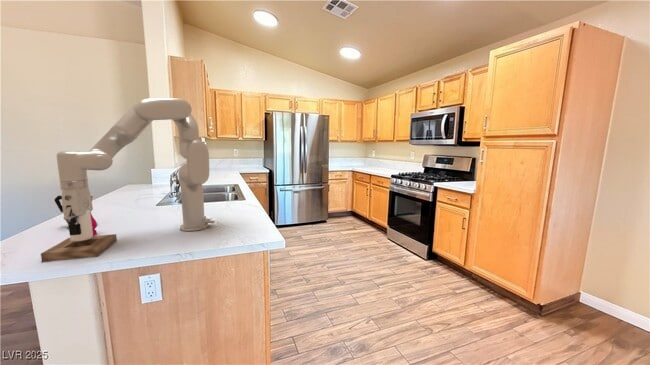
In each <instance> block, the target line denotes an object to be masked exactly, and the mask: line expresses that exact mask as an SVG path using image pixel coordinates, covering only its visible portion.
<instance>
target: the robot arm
mask: <svg viewBox="0 0 650 365" xmlns="http://www.w3.org/2000/svg"><path fill="white" fill-rule="evenodd" d="M192 110H193V109H192V106H191V103H189V102H188V101H187V100H186V99H184V98H178V97H176V98H151V97H150V98H143V99H141V100H138V101H137V102H135V103H134V104H133V105H132V106H131V107H130V108H129V109H128V110H127V111H126V112H125V113H124V115H123V116H121V118H120V119H119V120H117V121H116V122H115V123H114V125H112V127H111V128H110V129H109V130H108V131H107V132H106V133H105V134H104V135H103V136H102V137H101V138H100V140H98V141H97V142H96V143H95V144H94V145H93V146H92V147H91V148H90V149H89V150H88V151H81V150H79V151H78V150H75V151H74V150H64V151H63V150H62V151H59V152H57V153H56V163H57V170H58V177H59V184H60V185H59V186H60V190H61V196H62V199H61V205H62V208H63V212H62V214H63V220H64V221H65V222H66V224H67V226H68V225H69V229H68V231H69V236H70V235H80V234H81V227H80V224H78V223H79V216H83V215H85V214H86V211H87V210H90V212H91V213H92V211H93V210H94V208H93V199H92V200H91V196H92V195H91V191H90V188H89V187H90V186H89V181H88V173H87V171H106V170H107V169H109V168H111V167H112V165H113V163H114V162H113V160H114V159H113V158H114V157H115V156H116V155H117V154H118V153H119V152H120V151H121V150H122V149H123V148H125V147H126V146H128V145H129V144H131V143H133V142H134V141H136V140H137V138H139V136H140V135H141V134H142V133H143V132H144V131H145V130H146V129H147V127H149V125H150V124H151V123H152V122H153V121H166V120H167V121H168V120H170V121H171V120H172V121H173V122H174V124H175V125H176V127H177V131H178V132H177V133H178V149H179V150H178V151H179V154H180V156H181V157H182V158H183V159H185V160H186V163H184V164H182V165H180V167H179V169H178V180H179V181H178V182H179V186H180V195H181V211H182V213H181V214H182V224H180V226H179V230H180V231H183V232H197V231H200V230H204V229H206V228H208V227H209V224H214V223H215V218H212V217H211V218H207V216H206V215H205V204H204V203H205V201H204V187H203V185H204V184H205V183H206V182H208V179H209V178H210V153H209V149H208V147H207V144H206V143H205V142H204V141H202V140H200V134H199V133H200V131H199V125H198V122H197V120H196V119H195V117H194V116H193V115H192V114H193V113H192V112H193V111H192ZM72 214H75V216H71V215H72ZM72 218H75V220H74V219H72Z"/></svg>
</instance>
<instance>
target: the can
mask: <svg viewBox="0 0 650 365" xmlns="http://www.w3.org/2000/svg"><path fill="white" fill-rule="evenodd" d="M91 214H92V213H91ZM91 214H90V210H87V211H86V214H85V215H83V216H79V223H78V224H80V227H81V234H80V235H70V234H69V238H70V240H71V241H72V242H80V241H85V240H89V239H91V238H92V237H93V230H92V222H91ZM71 216H75V214H72V215H71ZM72 219H74V220H75V218H72ZM68 226H69V225H68V224H67V227H68Z"/></svg>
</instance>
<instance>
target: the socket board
mask: <svg viewBox="0 0 650 365" xmlns="http://www.w3.org/2000/svg"><path fill="white" fill-rule="evenodd" d="M116 242H118V238H117V233H116V234H101V235H95V236H93V237H92V238H91V239H89V240H85V241H80V242H72V241H71V240H70V237H67V238H66V239H64V240H62V241H60V242H59V243H57V244H56V245H54V246H51V247H50V248H48V249H47V250H45V251H43V252H41V253H40V257H41V258H40V259H41V262H42V263H44V262H54V261H55V262H56V261H66V260H76V259H87V258H98V257H99V256H101V255H102V254H104V252H105V251H107V250H108V249H109V248H110V247H112V246H113V245H114V244H115V243H116Z"/></svg>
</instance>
